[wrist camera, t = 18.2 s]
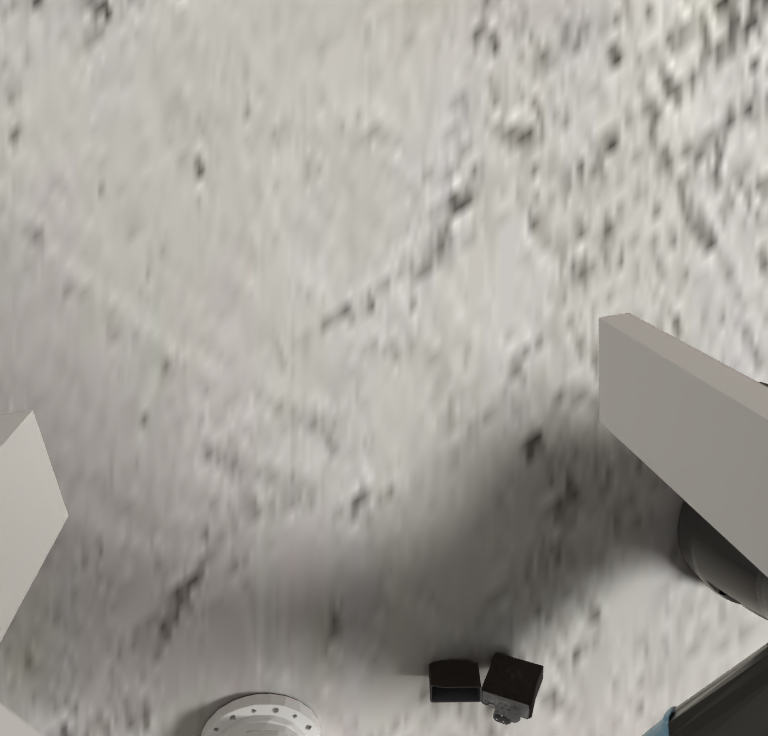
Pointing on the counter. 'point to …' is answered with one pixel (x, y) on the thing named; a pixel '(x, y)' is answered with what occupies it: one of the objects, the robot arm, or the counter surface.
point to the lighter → (489, 685)
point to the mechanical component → (263, 718)
